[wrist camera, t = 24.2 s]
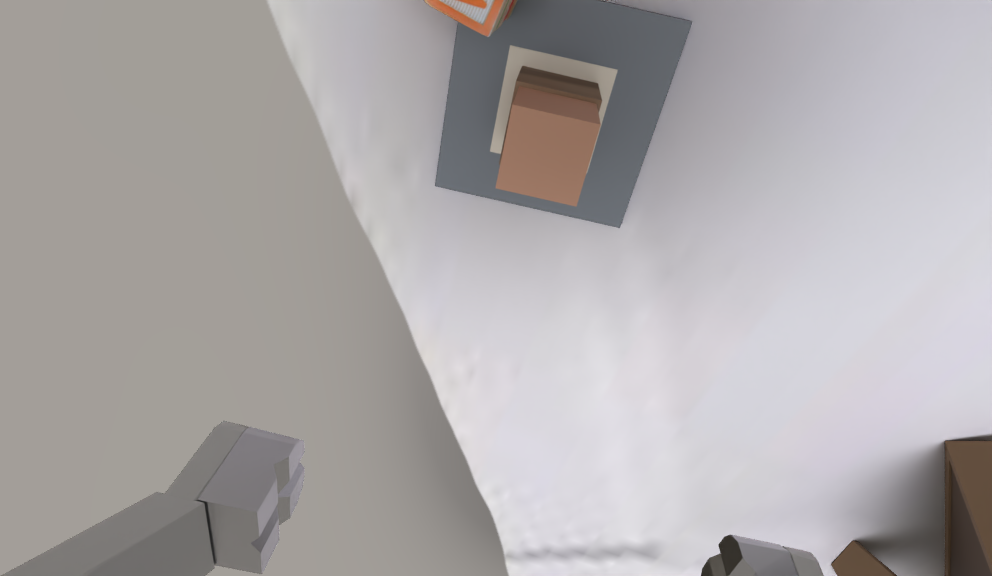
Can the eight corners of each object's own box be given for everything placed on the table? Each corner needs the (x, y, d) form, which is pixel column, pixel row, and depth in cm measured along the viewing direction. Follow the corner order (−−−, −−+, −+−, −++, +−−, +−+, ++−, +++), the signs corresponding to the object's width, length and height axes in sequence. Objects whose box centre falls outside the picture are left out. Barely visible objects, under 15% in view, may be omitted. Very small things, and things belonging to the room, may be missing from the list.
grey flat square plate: (466, -31, 33) (464, -31, 32) (690, 21, 33) (692, 22, 32) (436, 183, 40) (434, 186, 40) (619, 224, 40) (619, 228, 40)
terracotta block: (519, 86, 31) (512, 104, 27) (596, 103, 31) (600, 124, 27) (503, 161, 33) (495, 188, 29) (575, 177, 33) (576, 206, 29)
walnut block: (522, 65, 35) (516, 80, 30) (598, 83, 35) (602, 100, 30) (506, 140, 37) (498, 164, 33) (576, 157, 37) (577, 182, 33)
